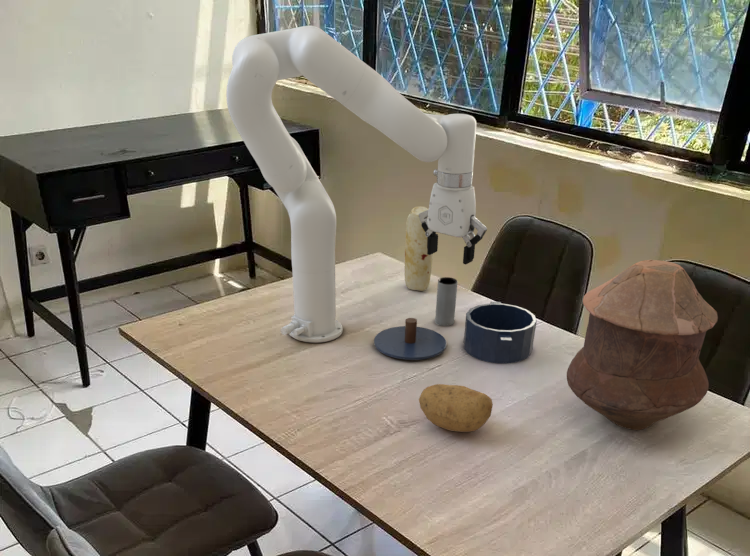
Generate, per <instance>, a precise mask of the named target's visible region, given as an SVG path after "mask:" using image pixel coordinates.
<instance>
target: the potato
mask: <svg viewBox="0 0 750 556" xmlns="http://www.w3.org/2000/svg"><path fill="white" fill-rule="evenodd" d="M418 402H419V407H420V409H421V411H422V412H423V414H424V416H425V417H426V419H427V420H428V421H429V422H430V423H431V424H433V425H434V426H436V427H439V428H442V429H444V430H447V431H453V432H461V433H463V432H464V433H466V432H467V433H471V432H475V431H478V430H479V429H481V428H482V427H483V426H484V425H485V424H486V423H487V422H488V420H489V418H490V417H491V416H492V411H493V405H494V403H493V399H492V398H491V397H490V396H489V395H487V394H486V393H484V392H481V391H478V390H475V389H472V388H470V387H468V386H466V385H458V384H445V383H444V384H442V383H436V384H433V385H429V386H426V387H425V388H423V390H422V392H421V394H420V396H419V398H418Z"/></svg>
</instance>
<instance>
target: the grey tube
mask: <svg viewBox="0 0 750 556" xmlns="http://www.w3.org/2000/svg"><path fill="white" fill-rule="evenodd" d="M458 283H459V282H458V280H457V279H456V278H454V277H449V276H444V277H440V278H439V279H438V280H437V287H436V288H437V290H436V302H435V303H436V305H435V316H434V318H435V319H434V322H435V324H436V325H439V326H442V327H449V326H452V325H454V323H455V317H456V316H455V315H456V305H457V293H458Z"/></svg>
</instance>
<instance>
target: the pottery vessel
mask: <svg viewBox="0 0 750 556" xmlns="http://www.w3.org/2000/svg"><path fill="white" fill-rule="evenodd" d="M582 304H583V307H584V308H585V309H586V310H587V312H588V313H589V315H588V316H589V317H588V322H587V327H586V332H585V338H584V341H583V346H582V347H581V348H580V349H579V351H577V353H576V354H575V355H574V357H573V358H572V360H571V362H570V363H569V365H568V367H567V371H566V382H567V385H568V387H569V388H570V390H571V392H572V393H573V394H574V395H575V396H576V397H577V398H578V399H579V400H580V401H582V402H583V403H584V404H585V405H586V406H587V407H589V408H590V409H592V410H593V411H595V412H597V413H599V414H600V415H602V416H604V417H605V418H607V419H608V420H609V421H610V422H612V424H615V425H616V426H619V427H620V428H625V429H628V430H633V431H641V430H645V429H648V428H650V427H651V426H652V425H653V424H655V423H658V422H660V421H664V420H666V419H668V418H671V417H674V416H676V415H678V414H681V413H683V412H685V411H687V410H690V409H691V408H694V407H695V406H696V405H698V404H699V403H700V402H701V401H702V400H703V399H704V398H705V397H706V395H707V393H708V392H709V386H710V384H709V380H708V375H707V373H706V371H705V368H704V367H703V365H702V363H701V361H700V355H701V350H702V348H703V344H704V341H705V337H706V334H707V331H709V330H710V329H711V330H712V329H713V328H714V326H715V325H716V324H717V323H718V319H719V316H718V312H717V310H715V309H714V307H712V305H710V304H709V303H708V302H707V301H706V300H705V299H704V298H703V296H702V295H701V294H700V293H699V291H698V289H697V288H696V285H695V283H694V282H693V280H692V279H691V277H690V276H689V274H688V273H687V271H686V270H685V268H683V266H681V265H680V264H678V263H675V262H673V261H667V260H660V259H659V260H658V259H656V260H655V259H645V260H641V261H637V262H635V263H633V264H632V265H631V266H629V267H628V268H626V269H624V270H623V271H621V272H620V273H618V274H617V275H615V276H614V277H612V278H611V279H609V280H608V281H606V282H604V283H602V284H600V285H598V286H596V287H594V288H592V289H591V290H589V291H588V292H586V293H585V294H584V295H583V298H582Z"/></svg>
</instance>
